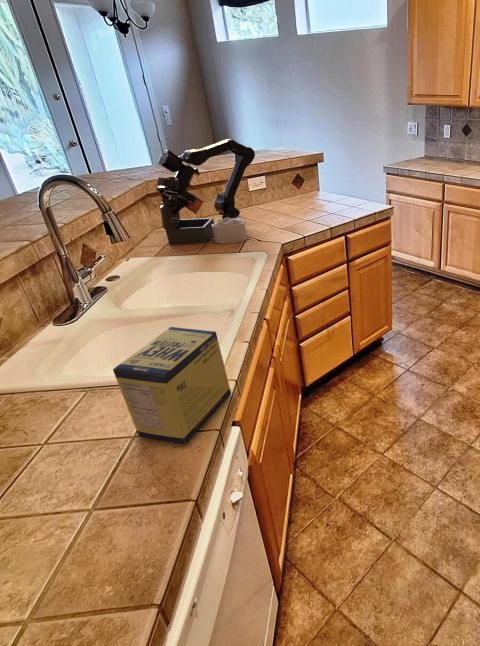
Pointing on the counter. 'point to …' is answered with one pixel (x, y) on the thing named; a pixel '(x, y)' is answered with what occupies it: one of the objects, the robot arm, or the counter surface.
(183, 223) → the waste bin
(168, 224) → the supplement bottle
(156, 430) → the protein box
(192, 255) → the counter surface
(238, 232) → the white rounded block
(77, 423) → the counter surface
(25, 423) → the counter surface
